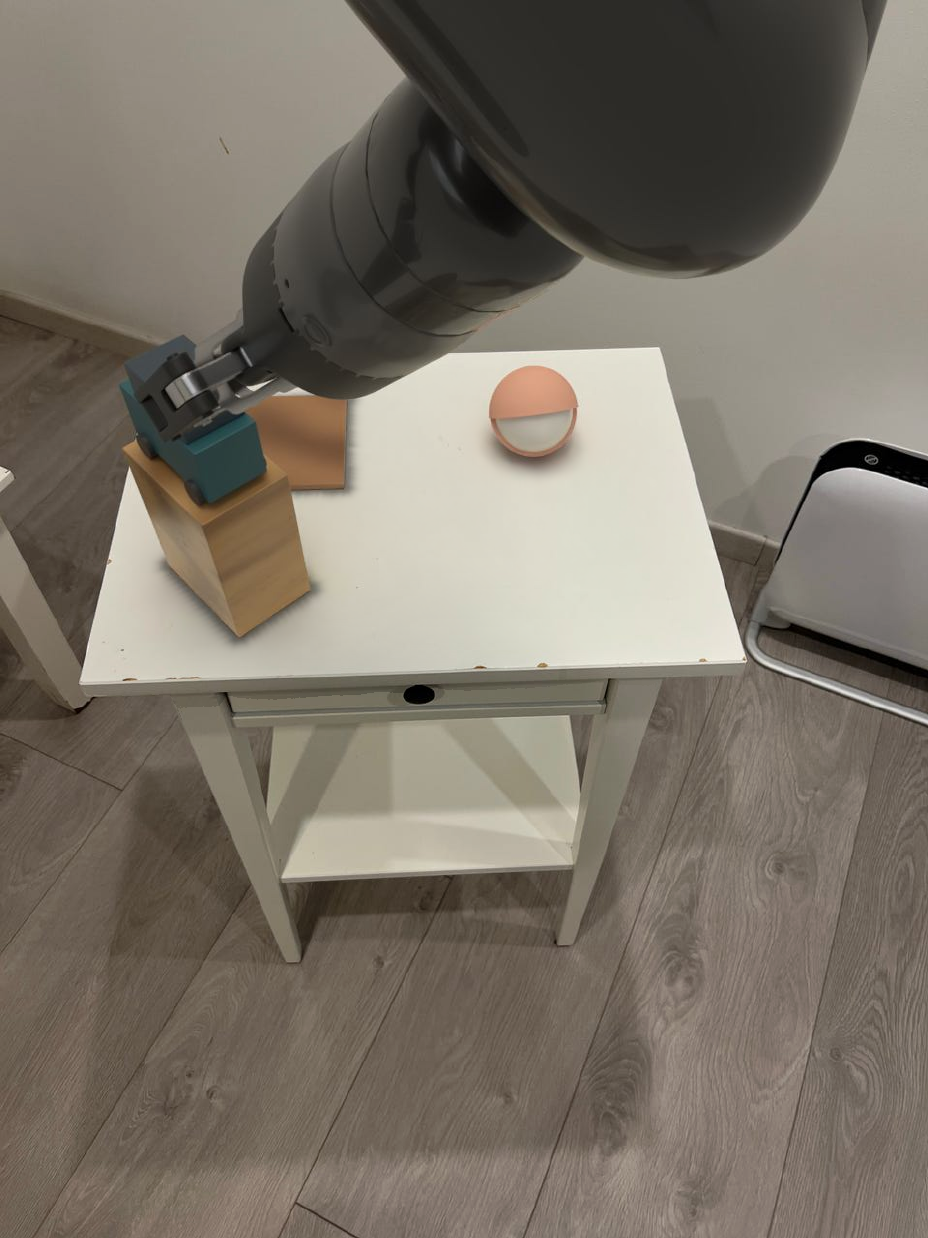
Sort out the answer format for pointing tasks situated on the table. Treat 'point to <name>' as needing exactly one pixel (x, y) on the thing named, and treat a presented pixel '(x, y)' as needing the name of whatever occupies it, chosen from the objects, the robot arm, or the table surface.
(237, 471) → the toy van
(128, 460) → the wooden block
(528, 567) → the table surface
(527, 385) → the toy ball
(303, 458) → the mat
